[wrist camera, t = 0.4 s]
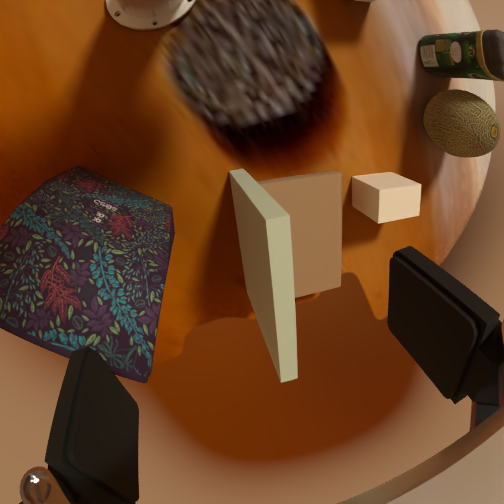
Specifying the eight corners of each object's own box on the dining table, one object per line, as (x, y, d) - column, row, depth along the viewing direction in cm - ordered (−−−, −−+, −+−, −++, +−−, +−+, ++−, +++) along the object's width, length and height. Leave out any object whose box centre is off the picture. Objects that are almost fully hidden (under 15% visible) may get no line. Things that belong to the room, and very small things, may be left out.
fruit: (415, 78, 41) (481, 81, 27) (455, 99, 43) (516, 110, 30) (405, 139, 45) (470, 158, 32) (445, 154, 48) (505, 175, 35)
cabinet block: (351, 176, 46) (379, 189, 39) (391, 171, 47) (421, 184, 40) (351, 207, 49) (378, 225, 42) (390, 201, 50) (418, 216, 43)
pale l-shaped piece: (228, 170, 42) (265, 219, 24) (322, 157, 44) (407, 195, 26) (246, 291, 51) (281, 382, 34) (325, 273, 53) (385, 348, 36)
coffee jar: (450, 42, 38) (528, 42, 22) (453, 80, 42) (532, 89, 25) (414, 31, 37) (497, 22, 20) (418, 72, 40) (504, 76, 24)
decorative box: (154, 254, 45) (140, 413, 20) (57, 213, 39) (-45, 337, 14) (176, 205, 43) (176, 344, 18) (74, 161, 36) (-51, 246, 12)
